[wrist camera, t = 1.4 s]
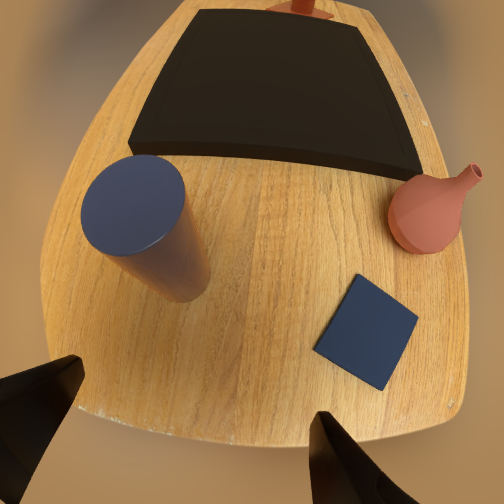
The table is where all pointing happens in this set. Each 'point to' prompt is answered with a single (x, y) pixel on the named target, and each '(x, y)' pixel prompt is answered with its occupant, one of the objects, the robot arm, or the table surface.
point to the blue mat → (367, 333)
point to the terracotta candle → (303, 6)
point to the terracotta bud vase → (430, 210)
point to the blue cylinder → (147, 226)
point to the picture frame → (276, 96)
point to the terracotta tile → (287, 9)
